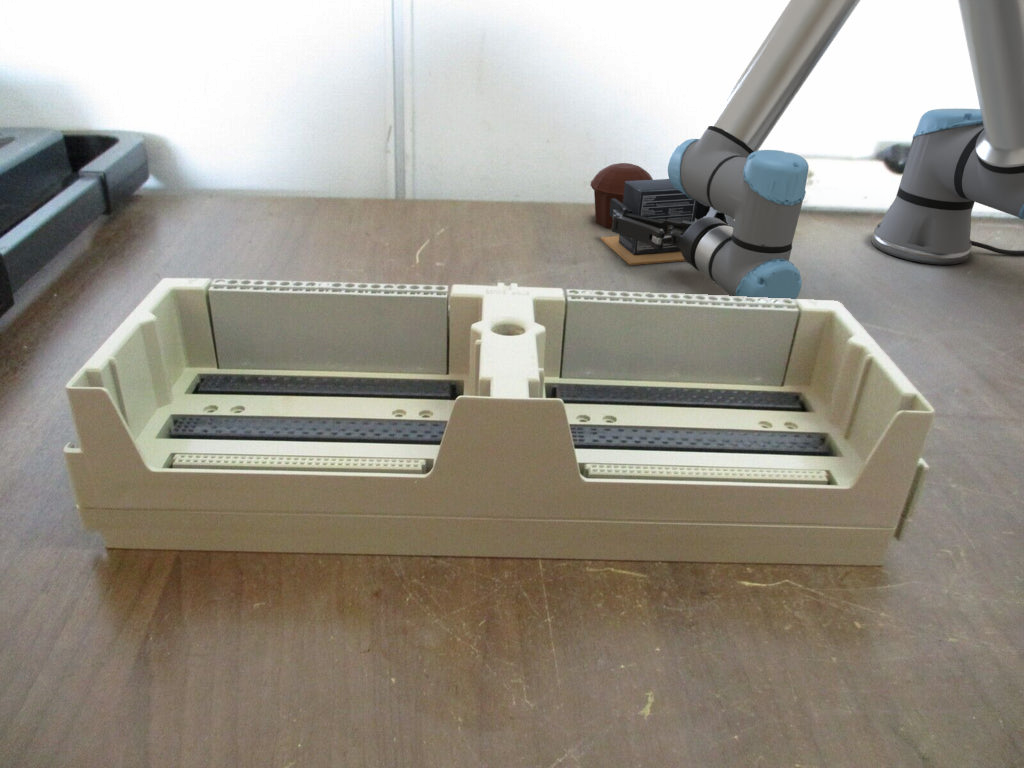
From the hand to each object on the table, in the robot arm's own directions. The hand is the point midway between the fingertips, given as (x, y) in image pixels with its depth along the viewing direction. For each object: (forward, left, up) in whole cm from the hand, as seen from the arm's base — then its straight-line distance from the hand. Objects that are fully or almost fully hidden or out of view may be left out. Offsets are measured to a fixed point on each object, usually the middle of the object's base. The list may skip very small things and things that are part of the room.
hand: (650, 204), depth 126 cm
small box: (0, +3, -6) cm, 7 cm away
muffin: (0, -11, -7) cm, 13 cm away
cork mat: (-3, +3, -7) cm, 8 cm away
